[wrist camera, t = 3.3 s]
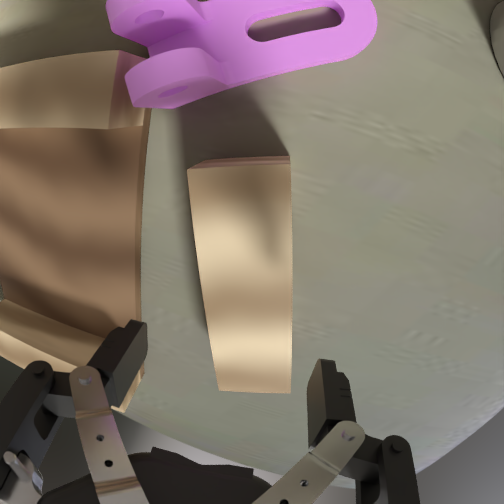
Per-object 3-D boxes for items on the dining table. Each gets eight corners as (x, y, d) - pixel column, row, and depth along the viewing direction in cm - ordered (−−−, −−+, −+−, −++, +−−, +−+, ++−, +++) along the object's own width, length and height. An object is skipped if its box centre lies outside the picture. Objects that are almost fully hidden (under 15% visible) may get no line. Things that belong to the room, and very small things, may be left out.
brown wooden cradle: (-2, 78, 17) (-45, 81, 12) (158, 63, 16) (119, 50, 12) (18, 324, 27) (-8, 350, 22) (144, 373, 26) (124, 412, 22)
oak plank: (206, 159, 19) (186, 169, 15) (289, 155, 18) (290, 163, 14) (228, 354, 25) (219, 390, 21) (291, 355, 24) (290, 393, 20)
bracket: (174, 108, 17) (117, 107, 11) (150, 33, 15) (91, 4, 9) (383, 54, 15) (430, 25, 8) (352, -22, 13) (379, -77, 6)
